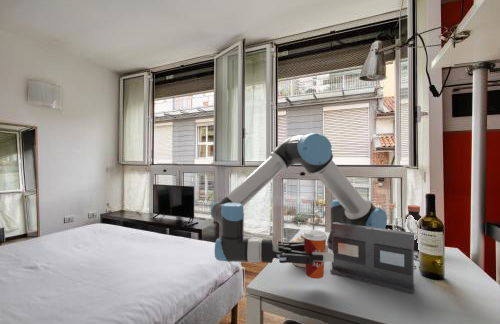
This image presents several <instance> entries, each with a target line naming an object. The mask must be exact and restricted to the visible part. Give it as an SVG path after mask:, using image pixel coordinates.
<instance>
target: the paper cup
mask: <svg viewBox="0 0 500 324" xmlns="http://www.w3.org/2000/svg"><path fill="white" fill-rule="evenodd" d="M303 234H304V235H303V237H304V244H305V252H307V253H312V252H325V246H326V245H327V241H326V240H328V237H327V234H326V233H325V231H321V230H317V229H310V230H306V231H304V233H303ZM324 273H325V262H322V261H313V264H306V267H305V274H306V276H307V277H309V278H311V279H323V277H324Z"/></svg>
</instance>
